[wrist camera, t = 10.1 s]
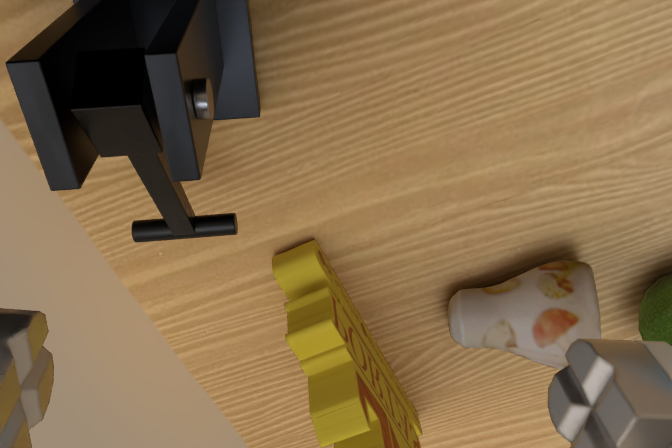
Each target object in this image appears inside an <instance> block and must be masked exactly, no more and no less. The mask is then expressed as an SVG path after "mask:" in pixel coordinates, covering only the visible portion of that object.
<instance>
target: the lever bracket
mask: <svg viewBox="0 0 672 448" xmlns="http://www.w3.org/2000/svg"><path fill="white" fill-rule="evenodd" d="M73 2H74V5H73V6H72V7H70V8H69V9H68V10H67V11H66V12H65V13H63V14H62V15H61V16H60V17H59V18H57V19H56V20H55V21H54V22H53V23H52V24H50V25H49V26H48V27H47V28H46V29H44V30H43V31H42V32H41V33H40V34H39V35H37V36H36V37H35V38H34V39H33V40H31V41H30V42H29V43H28V44H27V45H26V46H24V47H23V48H22V49H21V50H20V51H18V52H17V53H16V54H15V55H14V56H13V57H11V58H10V59H9V60H8V61H7V62H6V67H7V70H8V72H9V75H10V78H11V81H12V84H13V86H14V89H15V92H16V95H17V98H18V100H19V103H20V106H21V109H22V111H23V114H24V117H25V120H26V123H27V125H28V128H29V131H30V134H31V137H32V139H33V142H34V145H35V148H36V151H37V153H38V156H39V159H40V162H41V165H42V167H43V170H44V173H45V176H46V179H47V181H48V184H49V187H50V190H51V191H58V190H72V189H80V188H81V186H82V185H83V183H84V181H85V179H86V177H87V175H88V174H89V172H90V170H91V168H92V166H93V164H94V163H95V161H96V159H97V157H98V155H99V153H98V152H97V150H96V149H95V147H94V146H93V144H92V142H91V141H90V139H89V138H88V136H87V135H86V133H85V132H84V130H83V129H82V127H81V126H80V124H79V123H78V121H77V120H76V118H75V117H74V115H73V114H72V112H71V110H70V109H71V100H72V92H73V84H74V76H75V67H76V59H77V52H78V51H90V50H106V49H123V48H139V47H144V48H145V50H146V51H145V53H144V59H145V63H146V68H147V72H148V77H149V82H150V86H151V91H152V95H153V100H154V104H155V109H156V113H157V118H158V122H159V127H160V131H161V136H162V140H163V145H164V150H165V154H166V159H167V163H168V168H169V172H170V177H171V180H172V182H179V181H193V180H200V179H201V175H202V170H203V166H204V161H205V156H206V151H207V147H208V142H209V137H210V132H211V128H212V123H213V120H225V119H239V118H254V117H260V109H261V108H260V99H259V90H258V81H257V72H256V64H255V55H254V46H253V37H252V28H251V19H250V11H249V2H248V0H73Z"/></svg>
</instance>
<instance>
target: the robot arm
mask: <svg viewBox="0 0 672 448" xmlns="http://www.w3.org/2000/svg"><path fill="white" fill-rule="evenodd" d="M47 334H48V326H47V321H46V316H45V314H44V313H42V312H40V311H30V310H15V309H3V308H0V448H32V445H31V439H30V434H29V430H30V429H31V428H32V427H34V426H35V425H36V424H38V423H39V422H40V421H42V420H43V418H44V415H45V412H46V410H47V407H48V404H49V401H50V396H51V392H52V386H53V381H54V364H53V357H52V354H51V353H50V352H49V351H48V350H47V349H46V348H45V347H44V346H43V343H44V341H45V339H46V337H47ZM565 357H566V360H567V363H568V366H566V367H565V368H563V369H562V370H560V371H559V372H557V373H556V374H555V375H554V377H553V380H552V382H551V384H550V386H549V388H548V409H549V413H550V417H551V420H552V422H553V424H554V426H555V429H556V431H557V432H558V433H559V434H561V435H562V436H563V437H564V438H565V439H567V440H568V441H569V442H570V443H571V447H570V448H672V346H671V345H669V344H668V343H666V342H663V341H629V340H605V339H581V338H578V339H577V340H576V341H574V342H573V343H572V344H571V345H570V346H569V348H568V350H567V352H566V354H565Z"/></svg>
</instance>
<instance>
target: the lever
mask: <svg viewBox="0 0 672 448" xmlns="http://www.w3.org/2000/svg"><path fill="white" fill-rule="evenodd" d="M145 51H146V50H145V48H144V47H139V48H123V49H106V50H90V51H78V52H77V59H76V67H75V76H74V84H73V92H72V100H71V109H70V110H71V112H72V114H73V115H74V117H75V118H76V120H77V121H78V123H79V124H80V126H81V127H82V129H83V130H84V132H85V133H86V135H87V136H88V138H89V139H90V141H91V142H92V144H93V146H94V147H95V149H96V150H97V152H98V153H99V155H100V156H101V157H114V156H128V157H129V159H130V161H131V163H132V164H133V166H134V168H135V170H136V171H137V173H138V175H139V176H140V178H141V180H142V182H143V183H144V185H145V187H146V189H147V190H148V192H149V194H150V196H151V197H152V199H153V201H154V202H155V204H156V206H157V208H158V209H159V211H160V213H161V215H162V216H163V218H164V219H151V220H138V221H133V223H132V236H133V239H134V241H135V242H149V241H161V240H174V239H187V238H199V237H212V236H224V235H236V234H237V231H238V227H237V217H236V214H235V213H228V214H215V215H202V216H195V214H194V212H193V209H192V207H191V205H190V203H189V201H188V198H187V196H186V194H185V192H184V190H183V188H182V185H181V183H180V181H179V182H172V180H171V177H170V172H169V168H168V163H167V159H166V154H165V150H164V145H163V140H162V136H161V131H160V127H159V122H158V118H157V113H156V109H155V104H154V100H153V95H152V91H151V86H150V82H149V77H148V72H147V68H146V63H145V59H144V53H145Z"/></svg>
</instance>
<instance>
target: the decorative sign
mask: <svg viewBox="0 0 672 448" xmlns="http://www.w3.org/2000/svg"><path fill="white" fill-rule="evenodd" d="M272 269H273V274H274V276H275V279H276V281H277V282H278V284H279V285H280V287H281V288H282V290H283V291H284V293H285V294H286V296H287V297H288V299H289V300H290V301H289V302H287V303H285V304H284V305H285V309H286V311H287V321H288V334H286V335H285V338H286V341H287V343H288V345H289V346H290V348H291V349H292V350H293V352H294V353H295V355H296V356H297V357H298V359H299V360H300V364H301V368H302V369H303V371H304V372H305V373H306V375H307V376H308V388H309V404H310V415H311V419H312V422H313V425H314V428H315V432H316V435H317V438H318V441H319V444H320V446H321V447H325V446H327V445H330V444H333V443H334V448H421V445H420V442H419V439H418V436H420V435H422V429H421V425H420V421H419V418H418V415H417V413H416V411H415V409H414V407H413V405H412V404H411V402H410V400H409V399H408V397H407V395H406V393H405V392H404V390H403V388H402V387H401V385H400V383H399V381H398V380H397V378H396V376H395V375H394V373H393V371H392V370H391V368H390V366H389V364H388V363H387V361H386V359H385V358H384V356H383V354H382V352H381V351H380V349H379V347H378V346H377V344H376V342H375V341H374V339H373V337H372V335H371V334H370V332H369V330H368V329H367V327H366V325H365V323H364V322H363V320H362V318H361V317H360V315H359V313H358V312H357V310H356V308H355V306H354V305H353V303H352V301H351V300H350V298H349V296H348V294H347V293H346V291H345V289H344V288H343V286H342V284H341V283H340V281H339V279H338V277H337V276H336V274H335V272H334V271H333V269H332V267H331V265H330V264H329V262H328V260H327V259H326V257H325V255H324V254H323V252H322V250H321V248H320V247H319V245H318V243H317V242H316V241H315V240H312V241H310V242H307V243H305V244H303V245H300V246H298V247H295V248H293V249H291V250H288V251H286V252H284V253H281V254H279V255H276V256H274V257H273V258H272Z"/></svg>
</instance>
